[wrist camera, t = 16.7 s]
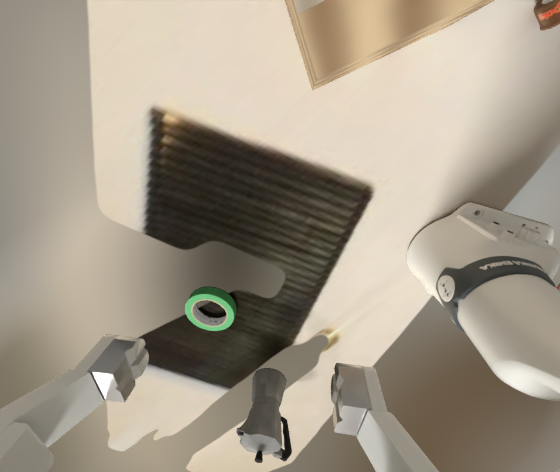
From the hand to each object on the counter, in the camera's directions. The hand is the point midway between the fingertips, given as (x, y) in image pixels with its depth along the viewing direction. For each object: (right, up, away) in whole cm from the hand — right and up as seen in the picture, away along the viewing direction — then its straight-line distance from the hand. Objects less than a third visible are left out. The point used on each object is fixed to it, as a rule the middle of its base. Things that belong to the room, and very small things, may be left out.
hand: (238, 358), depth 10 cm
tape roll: (-14, -11, +46) cm, 50 cm away
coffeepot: (0, -34, +57) cm, 67 cm away
